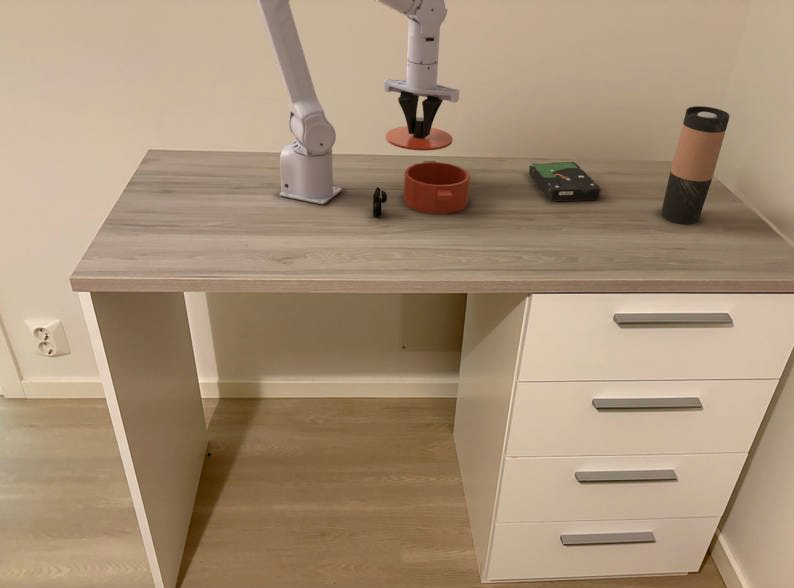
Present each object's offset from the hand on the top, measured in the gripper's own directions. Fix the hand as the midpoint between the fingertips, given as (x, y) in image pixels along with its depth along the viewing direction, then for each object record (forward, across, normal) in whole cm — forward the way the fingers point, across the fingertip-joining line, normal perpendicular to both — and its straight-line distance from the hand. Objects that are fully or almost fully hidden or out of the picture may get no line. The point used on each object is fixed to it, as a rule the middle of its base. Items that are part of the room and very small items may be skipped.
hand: (419, 134), depth 141 cm
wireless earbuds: (+10, 0, +18) cm, 21 cm away
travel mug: (+10, -52, -8) cm, 53 cm away
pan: (+10, -7, +7) cm, 14 cm away
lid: (+1, 0, 0) cm, 1 cm away
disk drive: (+10, -28, -12) cm, 32 cm away
